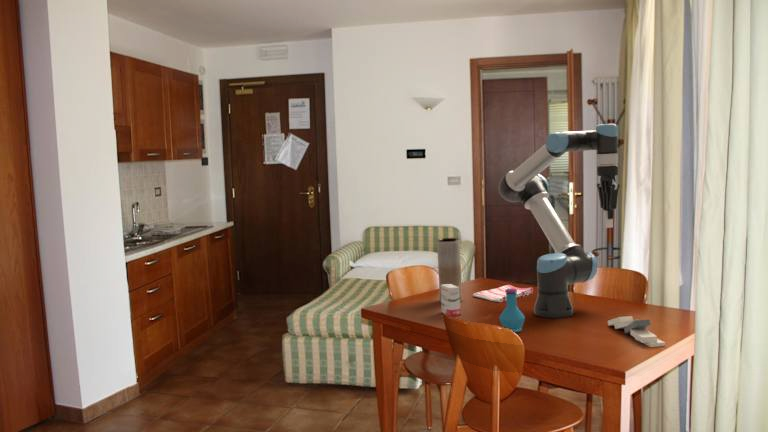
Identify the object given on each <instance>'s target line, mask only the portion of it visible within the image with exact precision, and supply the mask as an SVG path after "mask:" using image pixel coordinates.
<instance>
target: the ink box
mask: <svg viewBox="0 0 768 432" xmlns="http://www.w3.org/2000/svg"><path fill="white" fill-rule="evenodd" d="M440 303H441V313H443V314H445V315H447V316H449V315H450V316H449V317H457V316H461V315H462V314H461V302H460V293H459V287H457V286H455V285H452V284H443V285H441V302H440Z"/></svg>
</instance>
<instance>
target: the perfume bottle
mask: <svg viewBox="0 0 768 432" xmlns="http://www.w3.org/2000/svg"><path fill="white" fill-rule="evenodd" d="M505 292H506V298H507V301H506V307H505V308H504V310H503V311H502V312H501V314H500V316H499V318H498V319H499V321H500V324H501V326H502V327H503V328H504V327H506V328H509V329H512V330H513V331H514V332H513V333H515V332H516V333H517V332H521V331H522V328H523V327H524V323H525V319H526V316H525V315H524V313H523V312H522V311H521V310H520V309H519V307H518V306H517V298H516V294H517V293H516V292H517V290H516V289H512V288H511V289H506V290H505Z"/></svg>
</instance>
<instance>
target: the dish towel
mask: <svg viewBox="0 0 768 432" xmlns="http://www.w3.org/2000/svg"><path fill="white" fill-rule="evenodd" d="M511 288H512V289H516V290H517V292H516V293H517V294H516V299H518V297H519V298H521V296H522V297H526V296H525V295H527V296H530V295H529V294H531V295H533V293H534V288H533V287H523V288H522V287H515V286H513V285H511V284H506V285H503V286H499V287H497V288H491V289H488V290H481V291H478V292H474V293H473V294H472V296H473V297H474V298H477V299H481V300H486V301H490V302H493V303H494V302H495V303H503V302H507V298H506V292H505V290H506V289H511Z"/></svg>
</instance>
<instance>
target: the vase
mask: <svg viewBox="0 0 768 432" xmlns="http://www.w3.org/2000/svg"><path fill="white" fill-rule="evenodd" d="M460 241H461V240H460V239H459V238H458V237H457V238H455V237H451V238H450V237H447V238H446V237H445V238H439V239H437V240H436V244H437V246H436V247H437V269H438V286H439V287H438V288H439V302H440V303H441V285H443V284H452V285H455V286H457V287H459V293H460V303H462V302H463V289H462V287H463V286H462V285H463V283H462V268H461V267H462V266H461V264H462V263H461V262H462V261H461V243H460Z"/></svg>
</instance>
